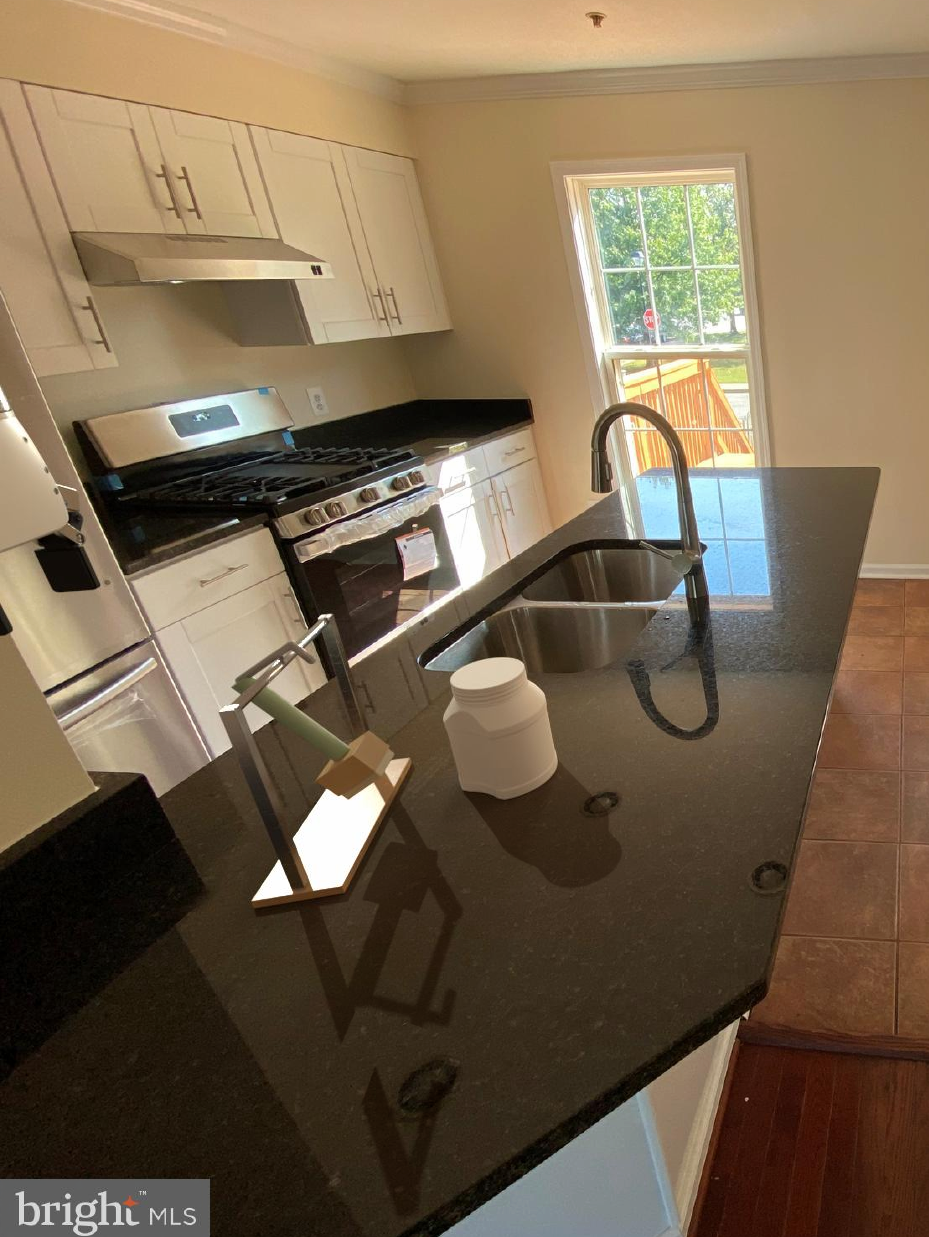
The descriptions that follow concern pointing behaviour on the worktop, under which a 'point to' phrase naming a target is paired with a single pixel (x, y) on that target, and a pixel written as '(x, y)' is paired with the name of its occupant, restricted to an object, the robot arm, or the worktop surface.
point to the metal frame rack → (335, 823)
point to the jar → (499, 729)
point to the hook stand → (322, 734)
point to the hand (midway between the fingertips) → (35, 611)
